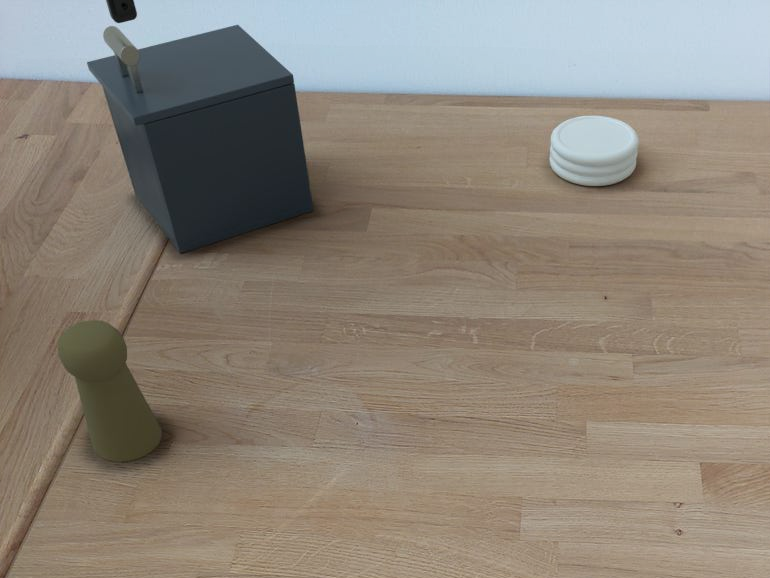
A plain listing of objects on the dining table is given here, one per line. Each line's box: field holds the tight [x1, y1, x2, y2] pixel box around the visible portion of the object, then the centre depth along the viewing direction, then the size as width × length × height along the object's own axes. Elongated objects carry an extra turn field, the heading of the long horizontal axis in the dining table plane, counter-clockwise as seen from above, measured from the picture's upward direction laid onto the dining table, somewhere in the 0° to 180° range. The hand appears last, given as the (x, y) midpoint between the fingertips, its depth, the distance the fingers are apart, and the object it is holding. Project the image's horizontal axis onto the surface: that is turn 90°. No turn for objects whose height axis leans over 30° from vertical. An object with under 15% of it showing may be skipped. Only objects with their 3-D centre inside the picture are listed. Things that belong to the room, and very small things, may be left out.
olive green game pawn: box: [57, 319, 163, 463], centre depth 80 cm, size 6×6×11 cm
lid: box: [86, 24, 295, 126], centre depth 94 cm, size 16×14×5 cm
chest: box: [101, 82, 314, 254], centre depth 102 cm, size 16×14×13 cm
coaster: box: [549, 115, 640, 187], centre depth 110 cm, size 10×10×4 cm
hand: (109, 3), depth 88 cm, fingers open, 8 cm apart
